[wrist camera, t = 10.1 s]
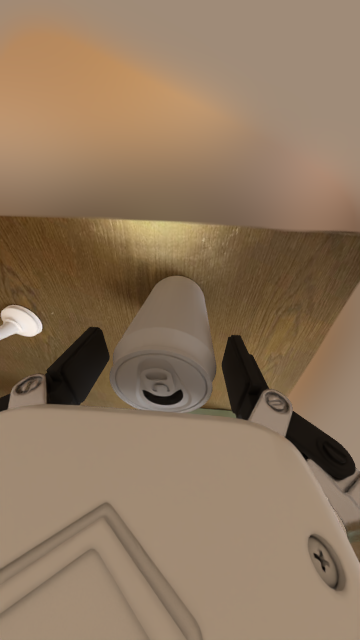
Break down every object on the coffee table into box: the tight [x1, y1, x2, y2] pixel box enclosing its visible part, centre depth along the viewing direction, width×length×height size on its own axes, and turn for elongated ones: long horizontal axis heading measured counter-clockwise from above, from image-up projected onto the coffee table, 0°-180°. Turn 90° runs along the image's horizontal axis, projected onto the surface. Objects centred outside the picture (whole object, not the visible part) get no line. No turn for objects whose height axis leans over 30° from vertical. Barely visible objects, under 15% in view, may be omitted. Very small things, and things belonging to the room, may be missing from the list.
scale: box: [188, 408, 236, 418], centre depth 32 cm, size 14×12×3 cm
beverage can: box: [110, 276, 216, 413], centre depth 13 cm, size 6×6×12 cm
